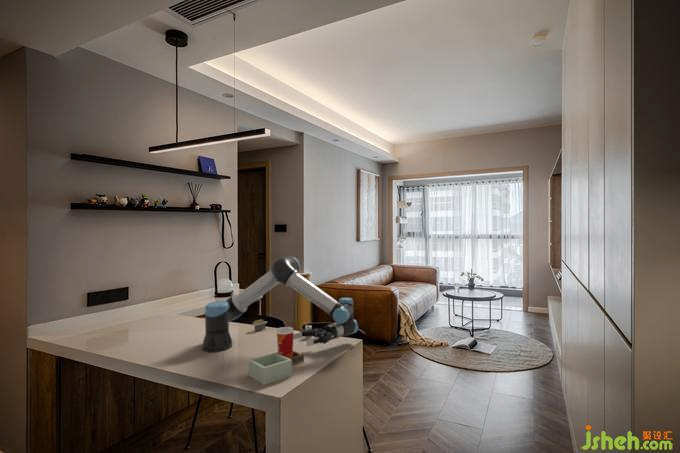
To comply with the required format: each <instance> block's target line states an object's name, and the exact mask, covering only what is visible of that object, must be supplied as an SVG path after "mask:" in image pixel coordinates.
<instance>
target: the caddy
mask: <svg viewBox="0 0 680 453" xmlns="http://www.w3.org/2000/svg"><path fill="white" fill-rule="evenodd" d="M247 362H248V363H247V366H248V367H247V369H248V377H249V378H252V379H253V380H255V381H256V382H259V383H260V384H261V385H262V384H263V385H264V386H265V385H269V384H271V383H273V382H278V381H280V380H284V379H286V378H289V377H292V376H293V365H292V360H291V359H289V358H286V357H284V356H282V355H279V354H277V353H276V352H273V353H269V354H266V355H262V356H258V357H254V358H251V359H248V360H247Z"/></svg>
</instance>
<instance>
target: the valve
mask: <svg viewBox="0 0 680 453" xmlns="http://www.w3.org/2000/svg"><path fill="white" fill-rule="evenodd" d="M312 328H313V327H312V325H309V324H308V325H305V327H304V330H310V329H312ZM316 336H317V335H316ZM304 338H305V339H306V340H309V339H313V336H310V337H304ZM319 339H320V338H319Z"/></svg>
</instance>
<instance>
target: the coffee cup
mask: <svg viewBox="0 0 680 453" xmlns="http://www.w3.org/2000/svg"><path fill="white" fill-rule="evenodd" d="M275 333H276V339H277V340H276V341H277V350H278V351H277V352H278V354H279V355H282V356H284V357H286V358H291V357H292V356H293V351H294V340H293V334H294V333H295V331H294V328H293V327H292V326H284V327H282V326H281V327H278V328H277V329H276V332H275Z"/></svg>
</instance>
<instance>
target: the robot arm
mask: <svg viewBox="0 0 680 453" xmlns="http://www.w3.org/2000/svg"><path fill="white" fill-rule="evenodd" d="M300 268H301V264H300V261H299V260H298V258H296V257H294V256H290V255H286V256H283V257H279V258H276V259H275V260H274V261H273V262H272V264H271V266H269V271H267V272H266V273H265V274H264V275H262V276H261V277H259V278H258V279H257V280H256V281H254V282H253V283H252V284H250V285H249V286H248V287H245V289H243V290H242V291H241V292H240V293H239V294H236V293H234V294H233V295H231V296H229V297H228V298H227V299H226V300H216V301H211V302H208V303H207V304H206V306H205V308H204V309H205V310H204V320H205V324H204V325H205V329H204V330H205V335H204V338H203V341H202V343H201V344H202V345H201V350H202V351H204V352H221V351H225V350H229V349H231V348H232V347H233V340H232V337H231V334H230V330H229V329H230V328H229V324H230V323H231V322H232V321H235V320H238V319H239V318H240V317H241V316H242V314H244V313H245V312H246V311H247V310H248V307H249V306H250V305H251V304H253V303H254V302H256V301H257V300H259V299H260V298H261V297H263V296H264V295H265V294H267V293H268V292H269V291H271V290H272V289H273V288H275V287H276V286H277V285H279V284H281V285H284V286H285V287H290V288H291V289H293V290H295V291H296V292H297V293H298V294H300V295H302V296H303V297H304V298H306V299H307V300H308V301H310V302H312V304H314V305H316V306H317V307H318V308H320V309H321V310H322V311H324V312H325V313H327V314H328V315H329V316H331V317H332V319H333V321H334V323H330V324H327V325H324V326H323V328H313V329H310V330H305V329H301V330H299V331H298V332H293V341H294V340H297V339H302V338H305V337H310V336H312V338H309V339H306V346H307V347H310V346H313V345H317V344H318V345H319V344H323V345H325V344H327V343H328V342H330V341H332V340H335V339H337V340H338V339H339V338H342V337H345V336H351V335H353V334H355V333H357V332H358V330H359V324H358V321H357V320H356V319H354V299H353V298H351V297H341V298H339V300H336V299H335V298H334V297H332V296H331V295H329V294H328V293H326V292H325V291H324V290H322V288H321V289H320V287H318V286H316V285H315V284H314V283H313V282H311V281H310V280H307V279H306V278H305V277H304V276H303V275H301V274H300V273H299V272H300V270H301V269H300ZM316 335H317V336H316ZM319 338H320V339H319Z"/></svg>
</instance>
